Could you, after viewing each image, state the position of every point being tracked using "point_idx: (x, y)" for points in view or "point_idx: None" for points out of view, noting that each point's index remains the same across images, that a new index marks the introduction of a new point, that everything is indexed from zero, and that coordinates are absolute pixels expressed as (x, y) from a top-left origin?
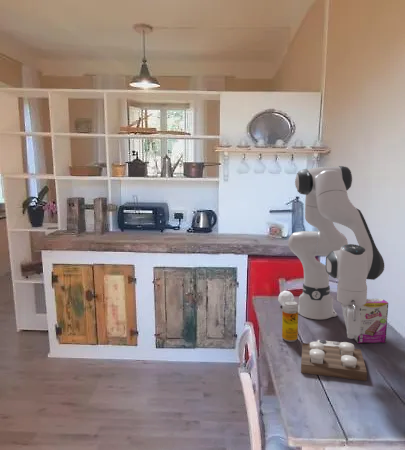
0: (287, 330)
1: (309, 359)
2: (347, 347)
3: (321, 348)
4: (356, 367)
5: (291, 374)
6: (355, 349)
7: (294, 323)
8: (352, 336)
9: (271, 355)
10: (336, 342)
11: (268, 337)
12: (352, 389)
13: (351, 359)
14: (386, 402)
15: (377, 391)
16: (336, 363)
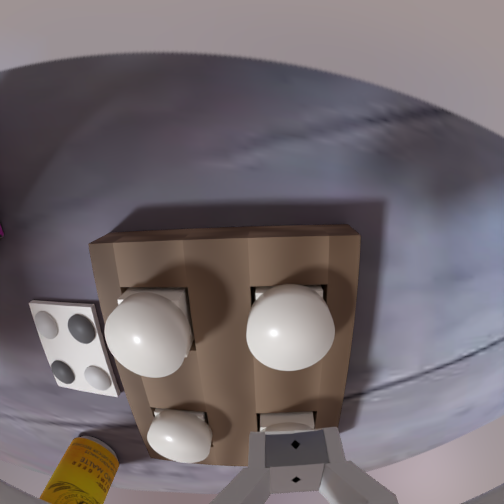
0: (108, 488)
1: None
2: (173, 344)
3: (199, 430)
4: (317, 284)
5: None
6: (100, 271)
7: (86, 495)
8: (339, 442)
9: None
10: (41, 326)
11: (123, 486)
12: (420, 287)
13: (299, 324)
14: (477, 171)
15: (419, 189)
16: (298, 370)
